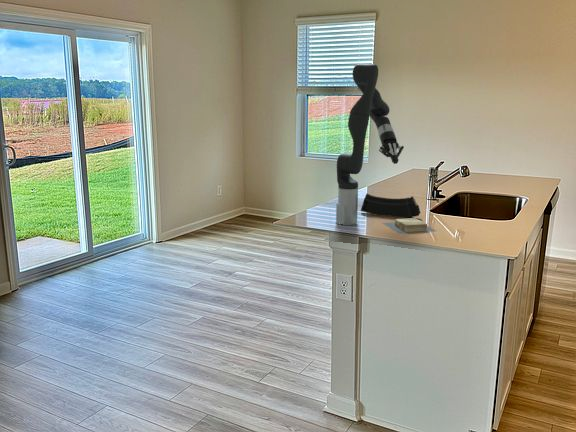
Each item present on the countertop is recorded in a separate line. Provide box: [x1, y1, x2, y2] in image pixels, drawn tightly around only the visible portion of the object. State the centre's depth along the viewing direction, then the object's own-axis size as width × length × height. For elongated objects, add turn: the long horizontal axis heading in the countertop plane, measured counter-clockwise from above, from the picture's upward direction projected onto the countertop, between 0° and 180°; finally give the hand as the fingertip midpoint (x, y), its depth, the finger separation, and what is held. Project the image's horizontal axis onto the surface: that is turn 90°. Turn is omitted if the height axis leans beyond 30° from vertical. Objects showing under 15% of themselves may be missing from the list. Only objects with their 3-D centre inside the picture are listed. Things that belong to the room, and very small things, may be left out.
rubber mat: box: [382, 221, 437, 234], centre depth 236 cm, size 20×18×1 cm
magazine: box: [360, 192, 421, 218], centre depth 259 cm, size 17×3×30 cm
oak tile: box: [394, 217, 428, 232], centre depth 234 cm, size 3×10×12 cm
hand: (396, 162), depth 247 cm, fingers closed
